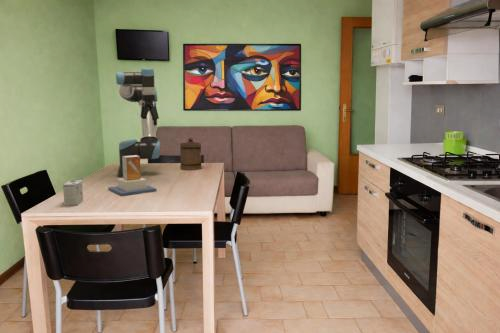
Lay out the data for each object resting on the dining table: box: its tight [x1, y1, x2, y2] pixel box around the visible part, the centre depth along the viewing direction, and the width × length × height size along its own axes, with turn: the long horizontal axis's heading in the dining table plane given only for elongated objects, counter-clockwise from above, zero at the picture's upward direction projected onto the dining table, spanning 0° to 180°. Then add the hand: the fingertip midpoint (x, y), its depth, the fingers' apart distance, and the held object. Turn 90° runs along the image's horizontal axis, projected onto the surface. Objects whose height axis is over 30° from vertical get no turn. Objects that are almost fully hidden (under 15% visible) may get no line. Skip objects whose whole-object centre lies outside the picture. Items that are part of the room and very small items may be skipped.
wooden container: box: [179, 137, 202, 171], centre depth 339 cm, size 15×15×22 cm
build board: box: [107, 177, 157, 197], centre depth 266 cm, size 20×20×6 cm
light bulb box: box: [62, 179, 84, 207], centre depth 237 cm, size 11×7×11 cm, turn 5°
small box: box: [122, 155, 142, 181], centre depth 264 cm, size 8×6×13 cm
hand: (149, 130), depth 287 cm, fingers open, 13 cm apart
